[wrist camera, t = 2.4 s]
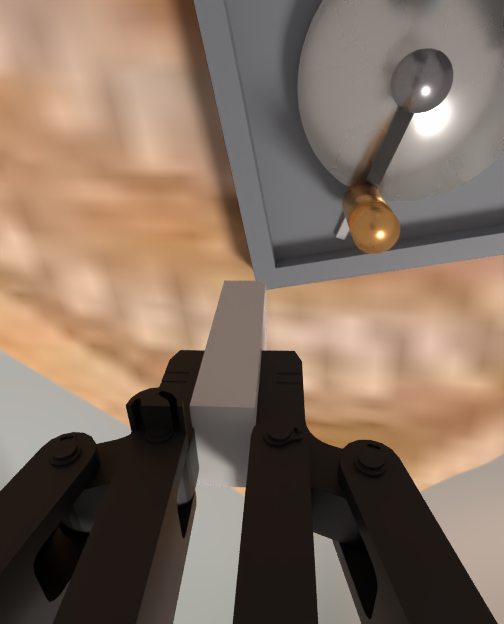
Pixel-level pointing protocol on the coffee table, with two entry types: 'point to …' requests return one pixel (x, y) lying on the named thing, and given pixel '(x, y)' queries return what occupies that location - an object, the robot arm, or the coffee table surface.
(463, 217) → the panel
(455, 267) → the coffee table surface
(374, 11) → the dial
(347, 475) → the robot arm
